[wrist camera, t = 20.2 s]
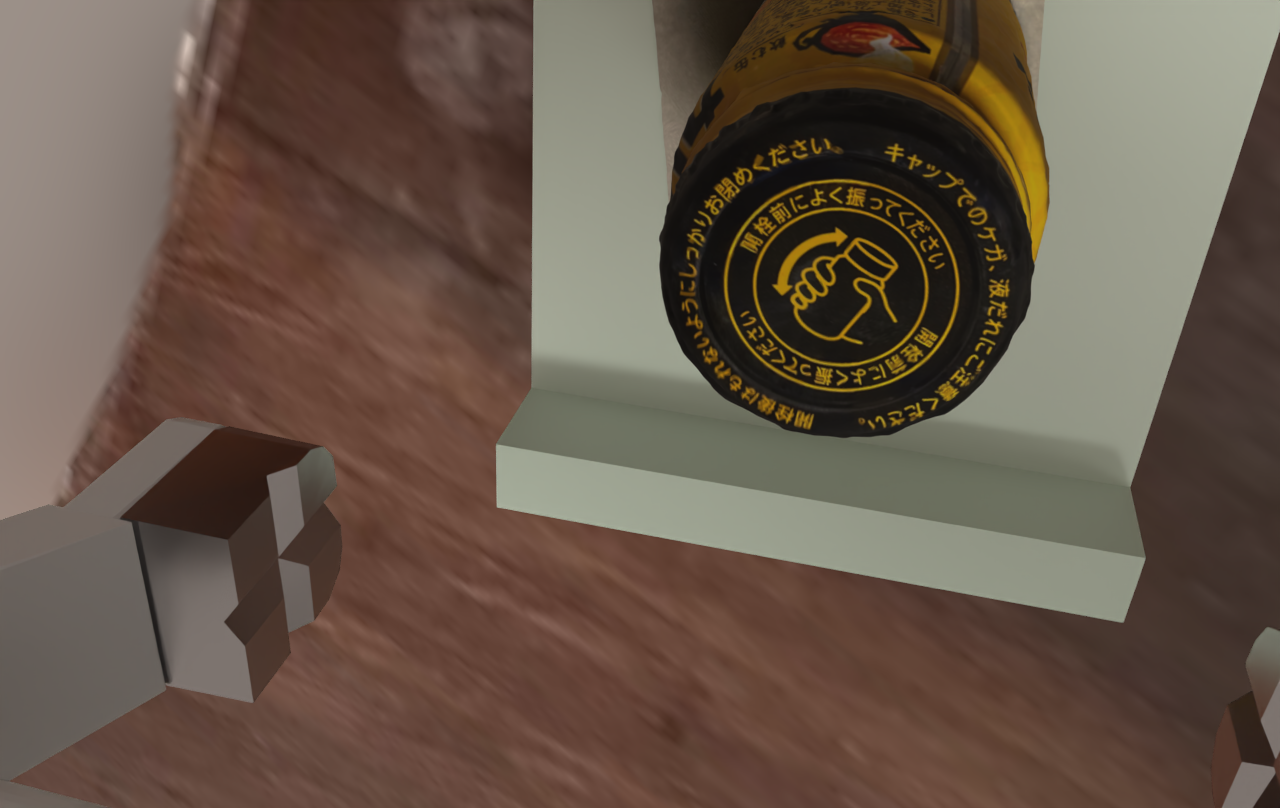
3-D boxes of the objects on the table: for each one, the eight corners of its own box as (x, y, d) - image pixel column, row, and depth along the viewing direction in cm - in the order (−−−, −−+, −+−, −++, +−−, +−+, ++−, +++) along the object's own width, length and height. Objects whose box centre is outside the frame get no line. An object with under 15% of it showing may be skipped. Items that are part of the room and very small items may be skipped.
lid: (1102, 506, 33) (1123, 623, 29) (551, 412, 36) (497, 507, 31) (1389, -405, 22) (1491, -433, 18) (564, -441, 25) (483, -471, 20)
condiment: (1028, 214, 27) (1069, 509, 17) (671, 215, 29) (521, 480, 19) (1054, -129, 24) (1124, -9, 14) (645, -100, 26) (444, 22, 16)
